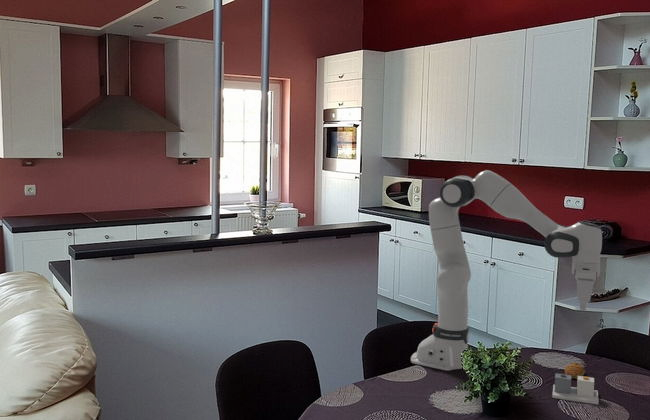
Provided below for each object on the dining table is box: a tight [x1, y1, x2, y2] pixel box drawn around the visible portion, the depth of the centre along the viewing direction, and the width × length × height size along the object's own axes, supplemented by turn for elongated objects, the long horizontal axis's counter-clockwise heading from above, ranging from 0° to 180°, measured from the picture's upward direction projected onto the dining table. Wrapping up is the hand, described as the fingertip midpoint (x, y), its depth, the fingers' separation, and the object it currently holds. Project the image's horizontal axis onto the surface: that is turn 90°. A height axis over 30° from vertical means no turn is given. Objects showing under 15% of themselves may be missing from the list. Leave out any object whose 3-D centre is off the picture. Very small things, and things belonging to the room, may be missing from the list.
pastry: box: [564, 362, 586, 380], centre depth 225 cm, size 9×7×4 cm
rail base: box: [551, 372, 600, 406], centre depth 206 cm, size 14×10×7 cm
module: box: [576, 375, 595, 397], centre depth 205 cm, size 5×4×6 cm
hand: (582, 309), depth 211 cm, fingers closed
